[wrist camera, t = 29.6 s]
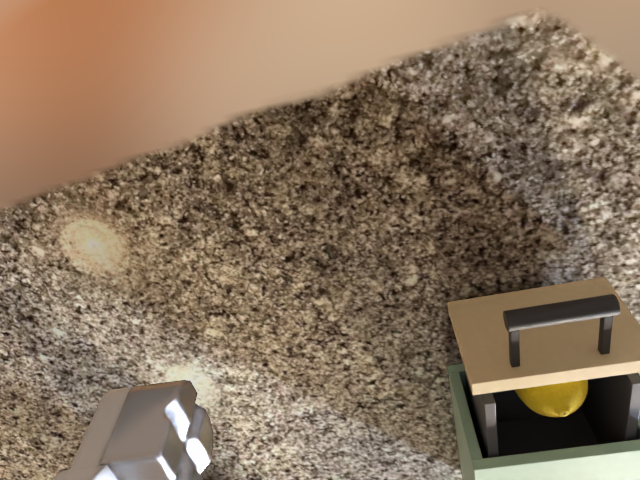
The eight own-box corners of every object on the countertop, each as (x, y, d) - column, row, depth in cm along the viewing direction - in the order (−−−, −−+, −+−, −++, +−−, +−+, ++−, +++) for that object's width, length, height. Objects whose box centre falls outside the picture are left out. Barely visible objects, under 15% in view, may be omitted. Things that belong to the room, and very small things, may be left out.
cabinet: (447, 365, 50) (473, 470, 41) (601, 343, 48) (664, 447, 39) (460, 471, 59) (485, 577, 50) (591, 456, 57) (641, 562, 48)
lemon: (573, 338, 45) (615, 419, 39) (512, 364, 47) (542, 446, 41) (548, 299, 43) (589, 378, 36) (484, 328, 45) (512, 409, 38)
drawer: (441, 254, 42) (466, 332, 35) (609, 225, 41) (672, 301, 33) (461, 421, 53) (483, 508, 46) (594, 404, 52) (639, 491, 44)
